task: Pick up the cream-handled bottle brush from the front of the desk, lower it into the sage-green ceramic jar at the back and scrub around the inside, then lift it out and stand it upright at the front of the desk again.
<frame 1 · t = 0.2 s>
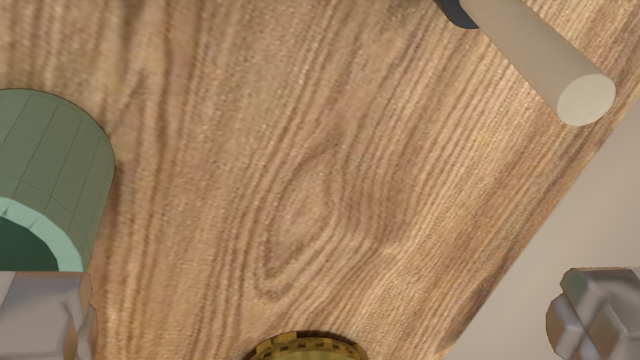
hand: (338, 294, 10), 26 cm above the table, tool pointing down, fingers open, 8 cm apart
jar: (35, 157, 38), on the table
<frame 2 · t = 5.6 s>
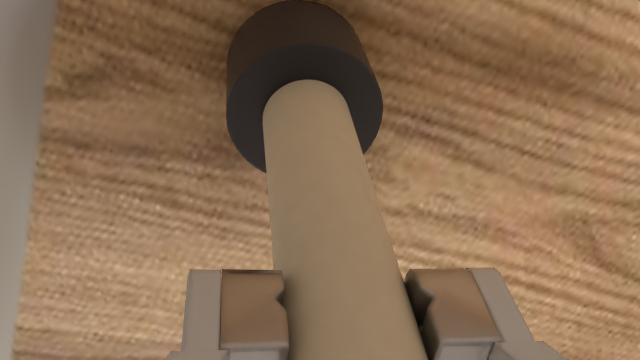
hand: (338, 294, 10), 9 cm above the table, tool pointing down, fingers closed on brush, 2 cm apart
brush: (296, 66, 18), on the table, touching gripper
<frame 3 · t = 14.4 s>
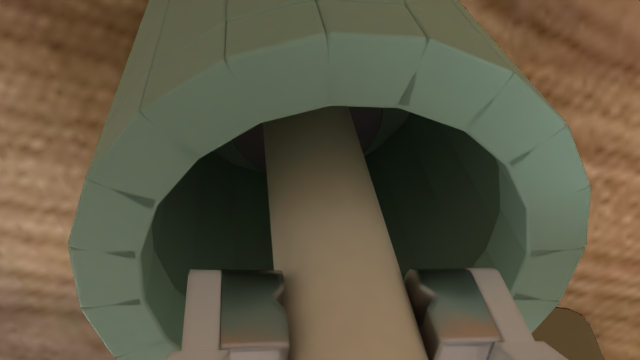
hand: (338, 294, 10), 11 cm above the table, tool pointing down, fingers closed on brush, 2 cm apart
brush: (296, 66, 18), point 2 cm above the table, touching gripper
brown knobbed upright piece: (530, 345, 30), on the table
jar: (296, 58, 19), on the table
when the fingers open (9 cm above the table, at t = 23.2 s): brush stays where it is, on the table.
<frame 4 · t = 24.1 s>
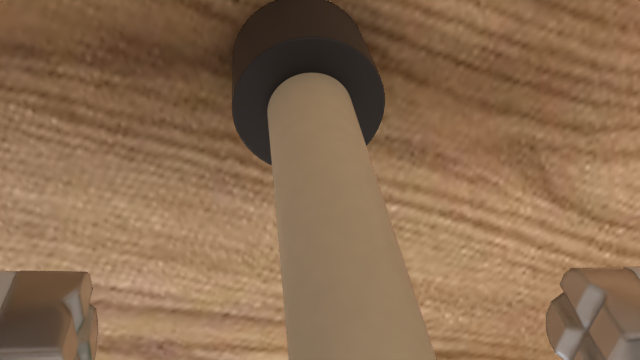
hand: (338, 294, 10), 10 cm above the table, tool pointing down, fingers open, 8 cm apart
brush: (299, 61, 18), on the table
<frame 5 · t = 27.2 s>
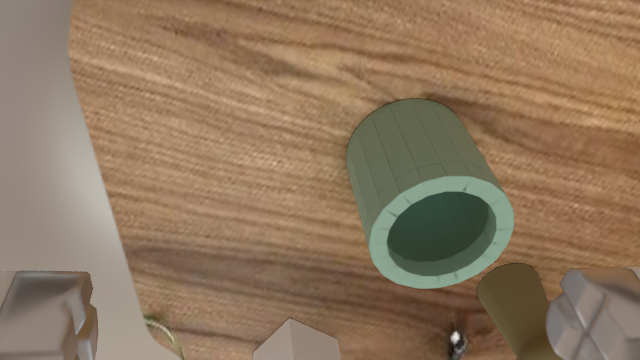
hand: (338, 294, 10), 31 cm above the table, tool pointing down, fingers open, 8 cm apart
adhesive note: (295, 344, 59), on the table
brown knobbed upright piece: (506, 284, 58), on the table
jar: (406, 152, 47), on the table
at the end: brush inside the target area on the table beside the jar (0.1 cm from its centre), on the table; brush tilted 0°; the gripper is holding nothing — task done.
